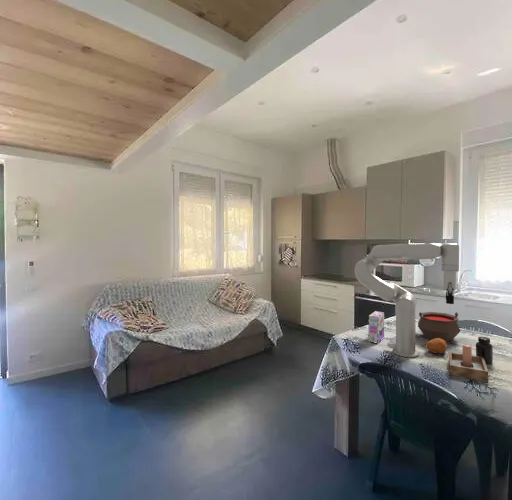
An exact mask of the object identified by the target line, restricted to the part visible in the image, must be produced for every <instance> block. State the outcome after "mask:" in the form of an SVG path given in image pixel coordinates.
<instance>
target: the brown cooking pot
mask: <svg viewBox="0 0 512 500" xmlns="http://www.w3.org/2000/svg"><path fill="white" fill-rule="evenodd" d="M418 316H419V320H418V322H417V328H418V329H419V330H420V332H421V334H423V336H424V338H426V339H428V340H430V339H431V340H432V339H435V338H440V339H443V340H444V341H445V342H446V343H447V342H452V341H453V340H455V338H456V337H457V336H458V335H459V333H461V329H460V327H459V324H458V323H457V322H458V321H459V317H458V316H459V314H458V312H457V311H456V312H455V313H454V315H453V314H449V313H446V312H437V311H435V312H434V311H427V312H421V311H419V313H418Z"/></svg>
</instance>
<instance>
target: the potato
mask: <svg viewBox="0 0 512 500" xmlns="http://www.w3.org/2000/svg"><path fill="white" fill-rule="evenodd" d="M425 347H426V349H427V350H428V351H429V352H431V353H434V354H443V353H445V352H446V351H447V348H448V344H447V342H445V341H444V340H443V339H440V338H435V339H432V340H430V339H429V341H428V342H426V343H425Z"/></svg>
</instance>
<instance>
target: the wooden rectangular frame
mask: <svg viewBox="0 0 512 500" xmlns="http://www.w3.org/2000/svg"><path fill="white" fill-rule="evenodd" d="M448 362H449V363H448V364H449V365H448V367H449V375H450V376H454V377H460V378H466V379H472V380H475V379H476V381H480V382H481V381H482V382H486V381H488V382H489V370H488V367H487V364H486V363H485V360H484V358H483V357H479V356H476V355H472V365H471V367H466V366H462V353H460V352H459V353H458V352H452V351H449V352H448Z"/></svg>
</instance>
